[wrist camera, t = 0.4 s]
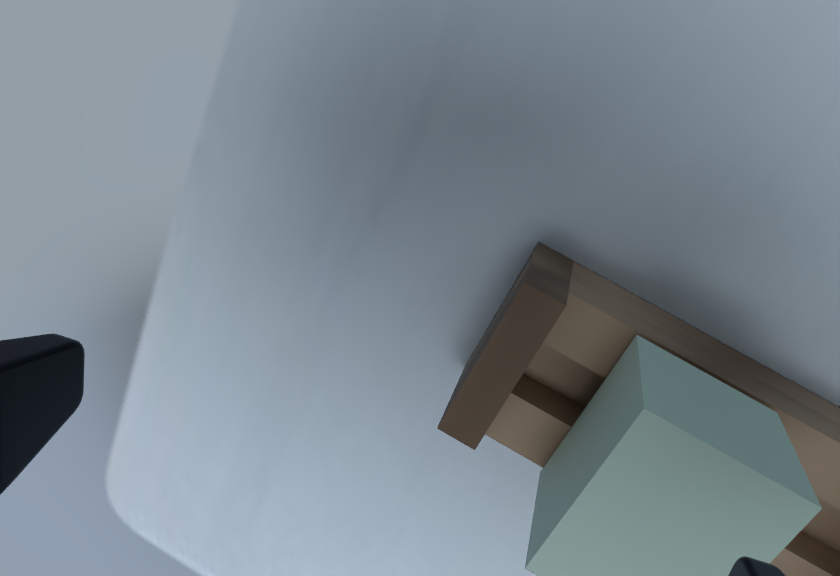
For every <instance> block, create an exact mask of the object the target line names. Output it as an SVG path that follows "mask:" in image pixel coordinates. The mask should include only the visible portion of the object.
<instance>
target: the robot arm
mask: <svg viewBox="0 0 840 576" xmlns="http://www.w3.org/2000/svg"><path fill="white" fill-rule="evenodd" d="M83 388H84V348H83V346H82V344H81V343H80V342H78V341H76V340H73V339H70V338H67V337H64V336H61V335H57V334H46V335H39V336H31V337H24V338H17V339H9V340H2V341H0V494H1V493H2V492H3V491H4V490H5V489H6V488H7V487H8V486H9V485H10V484H11V483H12V482H13V481H14V480H15V478H17V476H18V475H19V474H20V473H21V472H22V471H23V470H24V468H25V467H26V466H27V465H28V464H29V463H30V462H31V461H32V459H33V458H34V457H35V456H36V455H37V454H38V453H39V451H40V450H41V449H42V448H43V447H44V446H45V444H46V443H47V442H48V441H49V440H50V439H51V438H52V436H54V434H55V433H56V432H57V431H58V430H59V429H60V428H61V426H62V425H63V424H64V423H65V422H66V421H67V420H68V419H69V417H70V416H71V415H72V414H73V413H74V412H75V410H76V409H77V408H78V406H79V404H80V402H81V399H82V396H83ZM728 576H786V575H785V574H784V573H783V572H782V571H781V570H780V569H779V568H778V567H776V566H774V565H772V564H769V563H766V562H763V561H759V560H756V559H753V558H750V557H746V556H744V557H741V558H739V559H738V560H737V561H736V562H735V563H734V565H733V567H732V569H731V571H730V573H729V575H728Z"/></svg>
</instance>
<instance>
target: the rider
mask: <svg viewBox="0 0 840 576" xmlns="http://www.w3.org/2000/svg"><path fill="white" fill-rule="evenodd" d="M821 509H822V507H821V505H820V503H819V500H818V498H817V496H816V494H815V492H814V490H813V488H812V485H811V483H810V481H809V479H808V477H807V475H806V473H805V471H804V468H803V466H802V464H801V462H800V460H799V458H798V456H797V454H796V451H795V449H794V447H793V445H792V443H791V441H790V439H789V436H788V434H787V432H786V430H785V428H784V426H783V424H782V422H781V419H780V417H779V415H778V413H777V412H775V411H773V410H772V409H770V408H768V407H766V406H764V405H763V404H761V403H759V402H757V401H755V400H754V399H752V398H750V397H748V396H746V395H745V394H743V393H741V392H739V391H737V390H736V389H734V388H732V387H730V386H728V385H727V384H725V383H723V382H721V381H719V380H718V379H716V378H714V377H712V376H710V375H709V374H707V373H705V372H703V371H701V370H699V369H698V368H696V367H694V366H692V365H690V364H689V363H687V362H685V361H683V360H681V359H680V358H678V357H676V356H674V355H672V354H671V353H669V352H667V351H665V350H663V349H662V348H660V347H658V346H656V345H654V344H653V343H651V342H649V341H647V340H645V339H644V338H642V337H640V336H638V335H636V336H635V338H634V339H633V341H632V342H631V343H630V345H629V346H628V348H627V349H626V351H625V352H624V353H623V355H622V356H621V358H620V359H619V361H618V362H617V363H616V365H615V366H614V368H613V369H612V371H611V372H610V373H609V375H608V376H607V378H606V379H605V381H604V382H603V383H602V385H601V386H600V388H599V389H598V391H597V392H596V393H595V395H594V396H593V398H592V399H591V401H590V402H589V403H588V405H587V406H586V408H585V409H584V411H583V412H582V413H581V415H580V416H579V418H578V419H577V421H576V422H575V423H574V425H573V426H572V428H571V429H570V431H569V432H568V433H567V435H566V436H565V438H564V439H563V441H562V442H561V443H560V445H559V446H558V448H557V449H556V451H555V452H554V453H553V455H552V456H551V458H550V459H549V461H548V462H547V463H546V465H545V466H544V468H543V469H542V471H541V472H540V477H539V483H538V490H537V496H536V502H535V509H534V515H533V521H532V527H531V534H530V540H529V546H528V553H527V559H526V565H525V569H527V570H529V571H530V572H532V573H534V574H535V575H537V576H728V575H729V573H730V571H731V569H732V567H733V565H734V563H735V562H736V561H737V560H738V559H739V558H741V557H744V556H746V557H750V558H753V559H756V560H759V561H763V562H766V563H769V564H770V563H771V562H772V561H773V559H774V558H775V557H776V556H777V555H778V554H779V553H780V552H781V551H782V550H783V549H784V548H785V547H786V546H787V545H788V544H789V543H790V542H791V541H792V540H793V539H794V537H795V536H796V535H797V534H798V533H799V532H800V531H801V530H802V529H803V528H804V527H805V526H806V525H807V524H808V523H809V522H810V521H811V520H812V519H813V518H814V517H815V515H816V514H817V513H818V512H819V511H820V510H821Z"/></svg>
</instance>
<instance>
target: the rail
mask: <svg viewBox="0 0 840 576" xmlns="http://www.w3.org/2000/svg"><path fill="white" fill-rule="evenodd" d="M636 335H638V336H640V337H642V338H644V339H645V340H647V341H649V342H651V343H653V344H654V345H656V346H658V347H660V348H662V349H663V350H665V351H667V352H669V353H671V354H672V355H674V356H676V357H678V358H680V359H681V360H683V361H685V362H687V363H689V364H690V365H692V366H694V367H696V368H698V369H699V370H701V371H703V372H705V373H707V374H709V375H710V376H712V377H714V378H716V379H718V380H719V381H721V382H723V383H725V384H727V385H728V386H730V387H732V388H734V389H736V390H737V391H739V392H741V393H743V394H745V395H746V396H748V397H750V398H752V399H754V400H755V401H757V402H759V403H761V404H763V405H764V406H766V407H768V408H770V409H772V410H773V411H775V412H777V413H778V415H779V417H780V419H781V422H782V424H783V426H784V428H785V430H786V432H787V434H788V436H789V439H790V441H791V443H792V445H793V447H794V449H795V451H796V454H797V456H798V458H799V460H800V462H801V464H802V466H803V468H804V471H805V473H806V475H807V477H808V479H809V481H810V483H811V485H812V488H813V490H814V492H815V494H816V496H817V498H818V500H819V503H820V505H821V507H822V509H821V510H820V511H819V512H818V513H817V514H816V515H815V517H814V518H813V519H812V520H811V521H810V522H809V523H808V524H807V525H806V526H805V527H804V528H803V529H802V530H801V531H800V532H799V533H798V534H797V535H796V536H795V537H794V539H793V540H792V541H791V542H790V543H789V544H788V545H787V546H786V547H785V548H784V549H783V550H782V551H781V552H780V553H779V554H778V555H777V556H776V557H775V558H774V559H773V561H772V562H771V563H770V564H772V565H774V566H776V567H778V568H779V569H780V570H781V571H782V572H783V573H784V574H785V575H786V576H840V407H838V406H836V405H834V404H833V403H831V402H829V401H827V400H825V399H823V398H822V397H820V396H818V395H816V394H814V393H813V392H811V391H809V390H807V389H805V388H803V387H802V386H800V385H798V384H796V383H794V382H793V381H791V380H789V379H787V378H785V377H783V376H782V375H780V374H778V373H776V372H774V371H773V370H771V369H769V368H767V367H765V366H763V365H762V364H760V363H758V362H756V361H754V360H753V359H751V358H749V357H747V356H745V355H743V354H742V353H740V352H738V351H736V350H734V349H733V348H731V347H729V346H727V345H725V344H723V343H722V342H720V341H718V340H716V339H714V338H713V337H711V336H709V335H707V334H705V333H703V332H702V331H700V330H698V329H696V328H694V327H693V326H691V325H689V324H687V323H685V322H683V321H682V320H680V319H678V318H676V317H674V316H673V315H671V314H669V313H667V312H665V311H663V310H662V309H660V308H658V307H656V306H654V305H653V304H651V303H649V302H647V301H645V300H643V299H642V298H640V297H638V296H636V295H634V294H633V293H631V292H629V291H627V290H625V289H623V288H622V287H620V286H618V285H616V284H614V283H613V282H611V281H609V280H607V279H605V278H603V277H602V276H600V275H598V274H596V273H594V272H593V271H591V270H589V269H587V268H585V267H583V266H582V265H580V264H578V263H576V262H574V261H573V260H571V259H569V258H567V257H565V256H564V255H562V254H560V253H558V252H556V251H554V250H553V249H551V248H549V247H547V246H545V245H544V244H542V243H540V242H538V244H537V246H536V247H535V249H534V251H533V252H532V254H531V256H530V257H529V259H528V261H527V262H526V264H525V266H524V268H523V269H522V271H521V273H520V274H519V276H518V278H517V279H516V281H515V283H514V285H513V286H512V288H511V290H510V291H509V293H508V295H507V296H506V298H505V300H504V302H503V303H502V305H501V307H500V308H499V310H498V312H497V313H496V315H495V317H494V319H493V320H492V322H491V324H490V325H489V327H488V329H487V330H486V332H485V334H484V335H483V337H482V339H481V341H480V342H479V344H478V346H477V347H476V349H475V351H474V352H473V354H472V356H471V358H470V359H469V361H468V363H467V364H466V366H465V368H464V370H463V372H462V374H461V377H460V379H459V381H458V383H457V385H456V388H455V390H454V392H453V394H452V396H451V399H450V401H449V403H448V405H447V408H446V410H445V412H444V414H443V416H442V419H441V421H440V423H439V425H438V429H439V430H441V431H443V432H445V433H446V434H448V435H450V436H451V437H453V438H455V439H457V440H458V441H460V442H462V443H464V444H465V445H467V446H469V447H470V448H472V449H474V450H475V449H476V447H477V446H478V444H479V442H480V441H481V439H482V438H483V436H484V435H487V436H489V437H491V438H492V439H494V440H496V441H498V442H499V443H501V444H503V445H505V446H506V447H508V448H510V449H512V450H513V451H515V452H517V453H518V454H520V455H522V456H524V457H525V458H527V459H529V460H531V461H532V462H534V463H536V464H538V465H539V466H541V467H543V468H544V466H545V465H546V463H547V462H548V461H549V459H550V458H551V456H552V455H553V453H554V452H555V451H556V449H557V448H558V446H559V445H560V443H561V442H562V441H563V439H564V438H565V436H566V435H567V433H568V432H569V431H570V429H571V428H572V426H573V425H574V423H575V422H576V421H577V419H578V418H579V416H580V415H581V413H582V412H583V411H584V409H585V408H586V406H587V405H588V403H589V402H590V401H591V399H592V398H593V396H594V395H595V393H596V392H597V391H598V389H599V388H600V386H601V385H602V383H603V382H604V381H605V379H606V378H607V376H608V375H609V373H610V372H611V371H612V369H613V368H614V366H615V365H616V363H617V362H618V361H619V359H620V358H621V356H622V355H623V353H624V352H625V351H626V349H627V348H628V346H629V345H630V343H631V342H632V341H633V339H634V338H635V336H636Z"/></svg>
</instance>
